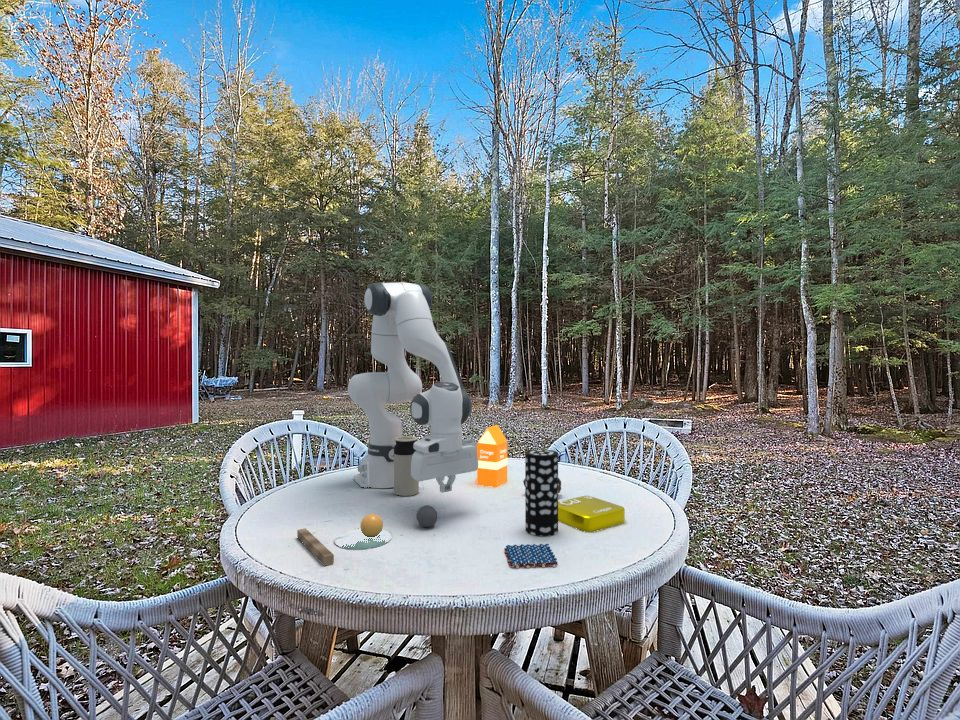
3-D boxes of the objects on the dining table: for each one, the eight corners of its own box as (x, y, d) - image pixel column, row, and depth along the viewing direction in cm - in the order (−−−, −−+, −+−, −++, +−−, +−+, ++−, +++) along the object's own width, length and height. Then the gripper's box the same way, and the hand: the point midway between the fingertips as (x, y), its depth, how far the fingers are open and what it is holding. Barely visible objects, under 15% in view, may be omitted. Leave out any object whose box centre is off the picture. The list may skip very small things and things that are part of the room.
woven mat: (503, 552, 114) (503, 543, 114) (548, 550, 115) (548, 542, 115) (508, 572, 103) (508, 562, 103) (558, 570, 104) (558, 561, 104)
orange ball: (372, 507, 125) (380, 525, 127) (353, 519, 122) (361, 537, 124) (381, 512, 121) (389, 531, 122) (362, 525, 118) (370, 544, 119)
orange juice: (476, 484, 170) (476, 427, 170) (488, 479, 178) (488, 424, 178) (497, 487, 167) (497, 428, 166) (507, 481, 174) (507, 425, 174)
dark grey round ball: (429, 497, 131) (427, 512, 134) (412, 507, 128) (411, 522, 130) (442, 509, 128) (441, 524, 131) (426, 519, 124) (424, 535, 127)
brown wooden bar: (297, 538, 121) (297, 530, 121) (305, 536, 122) (305, 528, 122) (324, 566, 105) (324, 556, 105) (333, 563, 106) (333, 554, 106)
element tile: (587, 535, 124) (587, 516, 124) (548, 518, 137) (548, 501, 137) (628, 523, 132) (628, 506, 132) (587, 509, 145) (587, 493, 145)
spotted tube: (536, 522, 132) (536, 448, 132) (564, 529, 127) (564, 452, 126) (519, 531, 126) (518, 453, 125) (547, 539, 120) (547, 457, 120)
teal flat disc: (325, 536, 122) (325, 535, 122) (377, 524, 131) (377, 523, 131) (346, 554, 111) (346, 553, 111) (402, 540, 119) (402, 539, 119)
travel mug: (416, 496, 156) (416, 440, 156) (391, 496, 156) (391, 440, 156) (420, 489, 164) (420, 436, 164) (396, 489, 164) (396, 436, 164)
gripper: (470, 435, 144) (469, 482, 144) (408, 443, 132) (407, 495, 132) (483, 439, 139) (482, 487, 139) (419, 448, 127) (419, 501, 127)
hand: (445, 491), depth 136 cm, fingers closed
